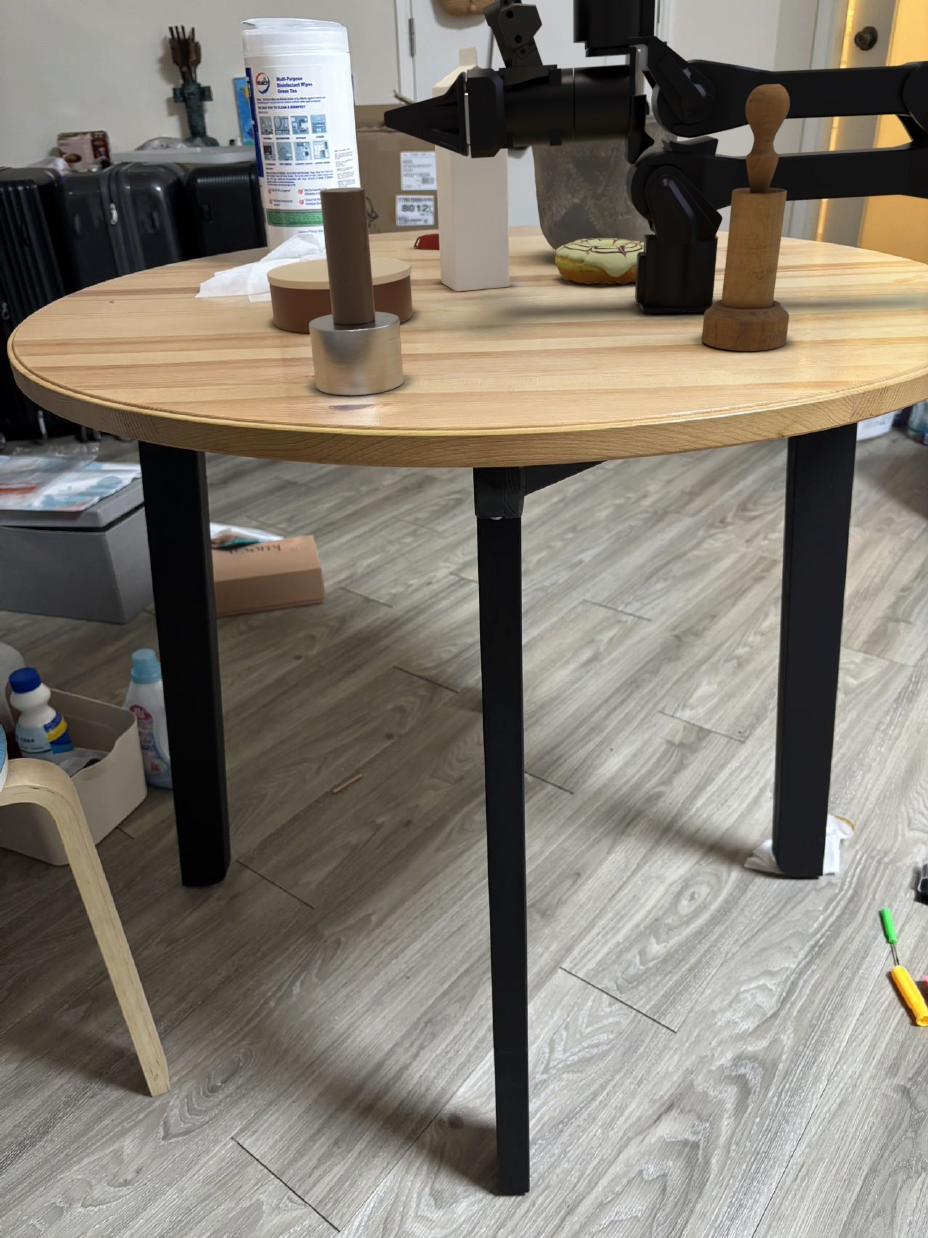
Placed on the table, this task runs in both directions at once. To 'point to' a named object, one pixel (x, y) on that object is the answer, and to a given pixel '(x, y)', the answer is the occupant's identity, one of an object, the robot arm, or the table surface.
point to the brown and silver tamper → (352, 307)
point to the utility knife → (428, 241)
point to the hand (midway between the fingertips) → (392, 117)
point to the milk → (471, 208)
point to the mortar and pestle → (754, 241)
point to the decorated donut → (599, 260)
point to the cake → (307, 291)
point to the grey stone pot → (588, 190)
